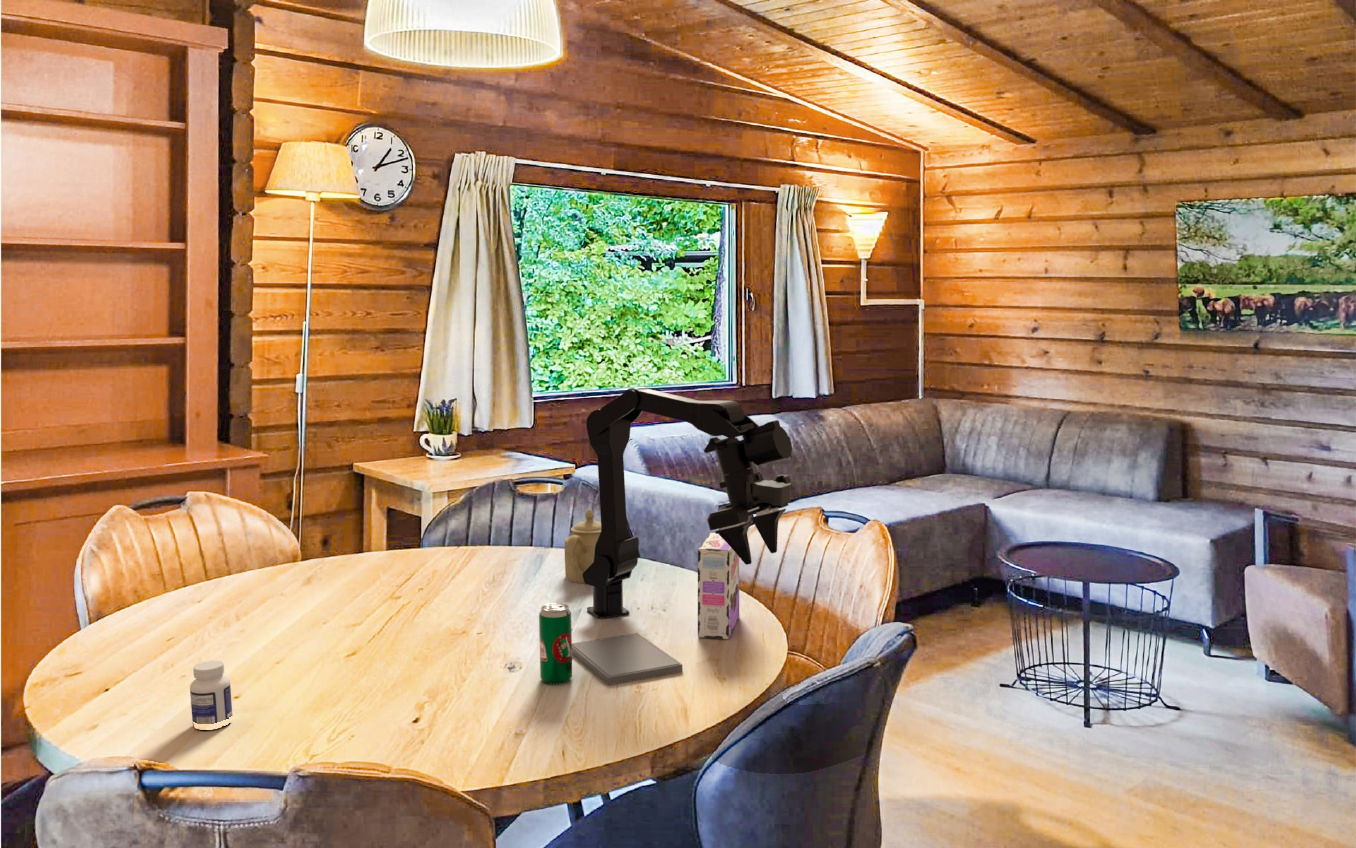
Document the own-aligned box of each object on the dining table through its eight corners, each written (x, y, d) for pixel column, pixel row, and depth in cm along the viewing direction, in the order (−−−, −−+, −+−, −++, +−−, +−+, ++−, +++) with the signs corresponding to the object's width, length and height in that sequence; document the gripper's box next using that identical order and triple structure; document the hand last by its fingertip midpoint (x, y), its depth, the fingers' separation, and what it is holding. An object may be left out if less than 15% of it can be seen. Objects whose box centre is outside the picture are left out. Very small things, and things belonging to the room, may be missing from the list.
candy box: (729, 640, 186) (729, 549, 184) (696, 638, 187) (696, 548, 185) (740, 617, 199) (740, 532, 197) (709, 615, 200) (709, 531, 198)
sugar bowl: (619, 587, 220) (618, 517, 218) (566, 589, 218) (564, 519, 216) (614, 569, 234) (613, 503, 232) (564, 571, 233) (563, 504, 231)
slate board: (568, 650, 181) (568, 643, 180) (637, 639, 186) (637, 632, 186) (608, 685, 165) (608, 677, 164) (682, 671, 170) (682, 663, 170)
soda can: (541, 674, 169) (539, 602, 168) (572, 673, 170) (571, 601, 168) (539, 686, 164) (538, 612, 163) (572, 685, 165) (570, 611, 163)
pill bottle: (219, 714, 154) (215, 656, 153) (240, 722, 151) (236, 663, 150) (184, 726, 150) (181, 666, 149) (205, 735, 147) (201, 674, 146)
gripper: (750, 469, 171) (775, 562, 170) (801, 454, 186) (825, 539, 185) (695, 483, 177) (719, 573, 176) (749, 468, 192) (772, 550, 192)
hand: (761, 558), depth 182 cm, fingers open, 9 cm apart
